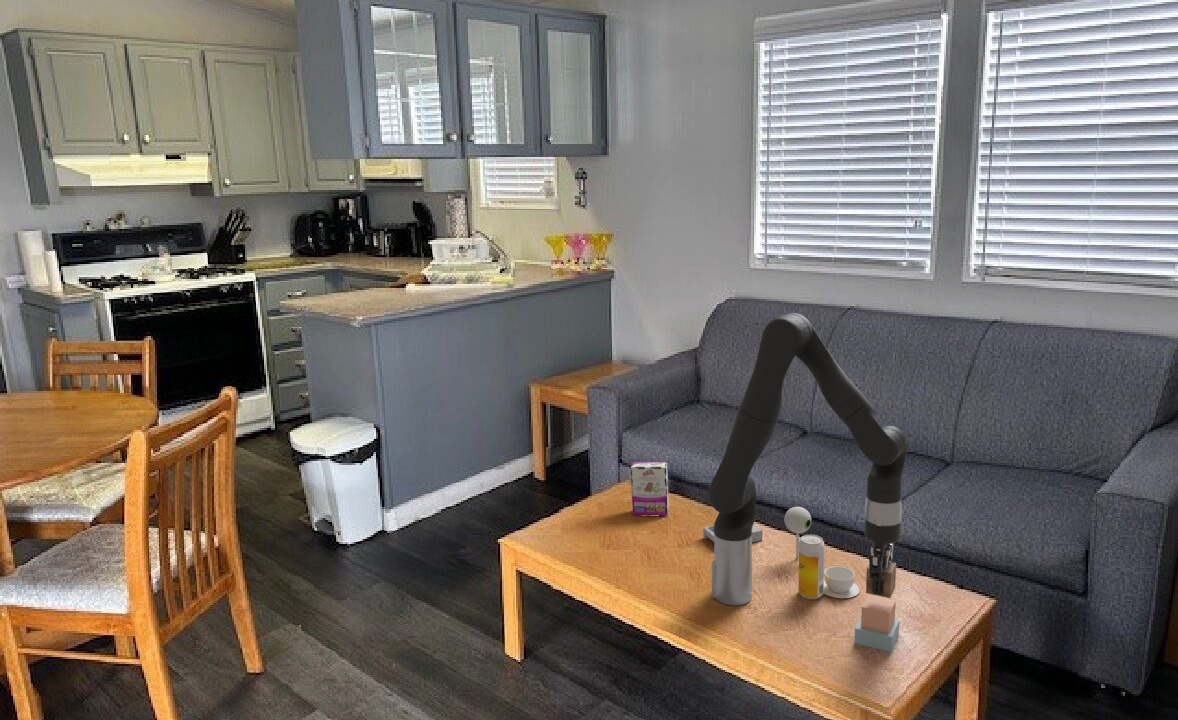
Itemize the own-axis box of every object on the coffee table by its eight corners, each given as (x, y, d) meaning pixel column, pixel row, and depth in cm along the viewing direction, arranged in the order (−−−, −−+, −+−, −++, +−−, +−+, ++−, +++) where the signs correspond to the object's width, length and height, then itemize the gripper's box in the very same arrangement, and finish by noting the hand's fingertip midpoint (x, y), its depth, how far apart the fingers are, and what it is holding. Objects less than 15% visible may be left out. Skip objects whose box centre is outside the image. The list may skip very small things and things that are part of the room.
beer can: (804, 586, 212) (805, 531, 209) (827, 592, 208) (828, 537, 205) (794, 595, 207) (794, 540, 204) (817, 602, 204) (818, 546, 200)
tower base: (854, 644, 186) (854, 628, 185) (862, 627, 193) (863, 611, 192) (891, 653, 182) (892, 637, 181) (898, 635, 189) (899, 619, 188)
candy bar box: (669, 510, 262) (667, 461, 258) (667, 517, 257) (666, 467, 253) (633, 509, 264) (632, 461, 260) (632, 516, 259) (630, 466, 255)
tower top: (860, 626, 186) (861, 606, 185) (867, 614, 191) (868, 594, 190) (888, 633, 183) (889, 613, 181) (894, 620, 188) (895, 600, 186)
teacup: (848, 604, 203) (848, 586, 202) (811, 591, 210) (811, 574, 209) (866, 588, 210) (867, 571, 209) (830, 576, 217) (830, 560, 216)
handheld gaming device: (763, 542, 238) (763, 529, 238) (717, 551, 234) (717, 538, 233) (747, 530, 247) (747, 518, 246) (702, 539, 242) (702, 527, 241)
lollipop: (800, 567, 222) (801, 515, 218) (778, 558, 227) (779, 507, 224) (815, 558, 226) (817, 507, 223) (794, 550, 232) (794, 500, 228)
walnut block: (865, 593, 184) (866, 568, 183) (871, 582, 188) (872, 558, 187) (890, 598, 181) (891, 573, 180) (895, 587, 186) (896, 563, 184)
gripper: (872, 502, 189) (870, 570, 192) (857, 526, 177) (855, 598, 181) (907, 507, 185) (904, 577, 189) (894, 532, 173) (891, 606, 177)
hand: (880, 587), depth 185 cm, fingers closed on walnut block, 5 cm apart
